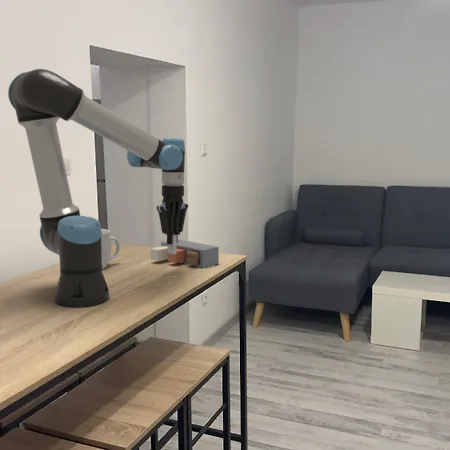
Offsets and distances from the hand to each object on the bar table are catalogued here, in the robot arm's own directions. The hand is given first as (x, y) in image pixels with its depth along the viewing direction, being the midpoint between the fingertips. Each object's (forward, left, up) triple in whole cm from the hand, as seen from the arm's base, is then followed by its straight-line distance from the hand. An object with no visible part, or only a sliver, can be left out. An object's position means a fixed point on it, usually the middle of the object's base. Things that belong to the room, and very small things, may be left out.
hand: (172, 253), depth 190 cm
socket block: (+15, +7, -7) cm, 18 cm away
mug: (-13, +24, -7) cm, 28 cm away
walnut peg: (+13, 0, -5) cm, 14 cm away
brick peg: (+11, +7, -5) cm, 14 cm away
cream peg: (+9, +14, -5) cm, 17 cm away
